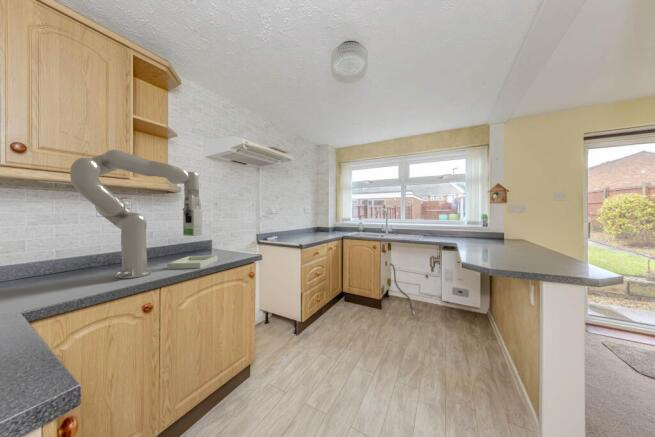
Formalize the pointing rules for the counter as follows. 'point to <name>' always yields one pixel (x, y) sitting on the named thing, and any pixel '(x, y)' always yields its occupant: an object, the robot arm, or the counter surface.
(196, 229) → the skincare box
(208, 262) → the tray
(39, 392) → the counter surface
